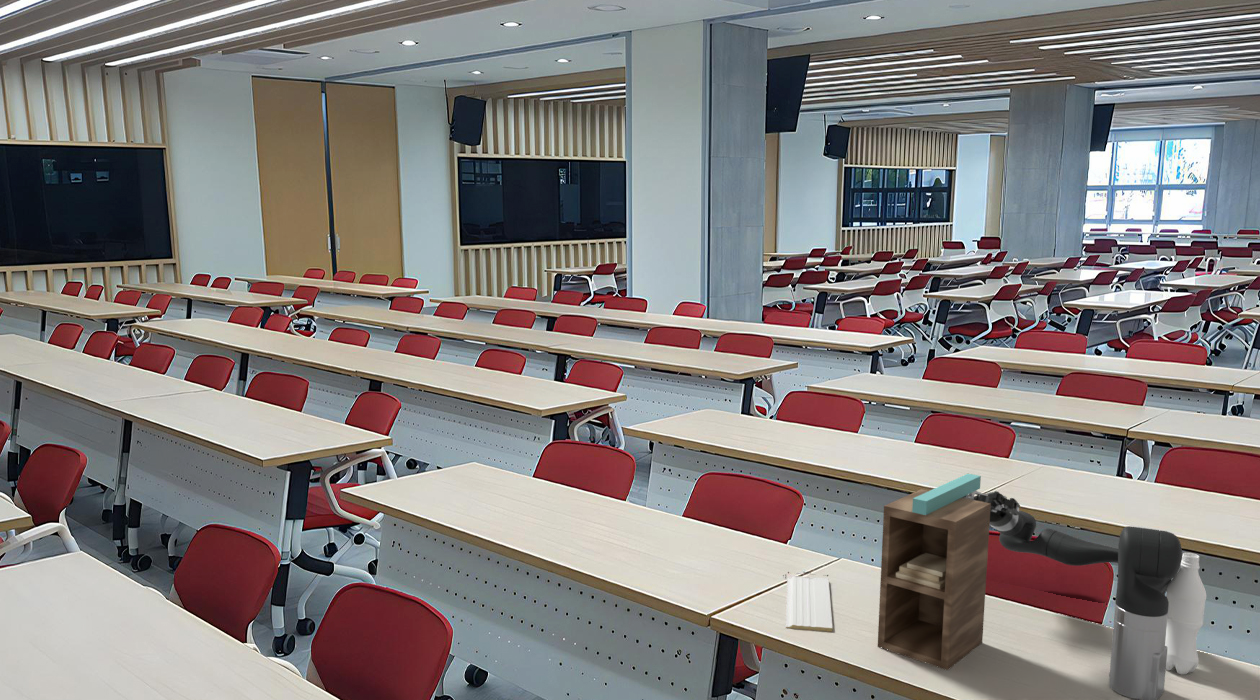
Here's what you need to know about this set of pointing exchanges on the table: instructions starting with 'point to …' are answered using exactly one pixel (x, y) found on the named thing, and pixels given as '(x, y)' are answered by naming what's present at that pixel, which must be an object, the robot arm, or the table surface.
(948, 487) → the rectangular block
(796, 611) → the baseboard molding
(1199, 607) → the water bottle
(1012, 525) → the robot arm
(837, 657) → the table surface
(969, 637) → the rack
